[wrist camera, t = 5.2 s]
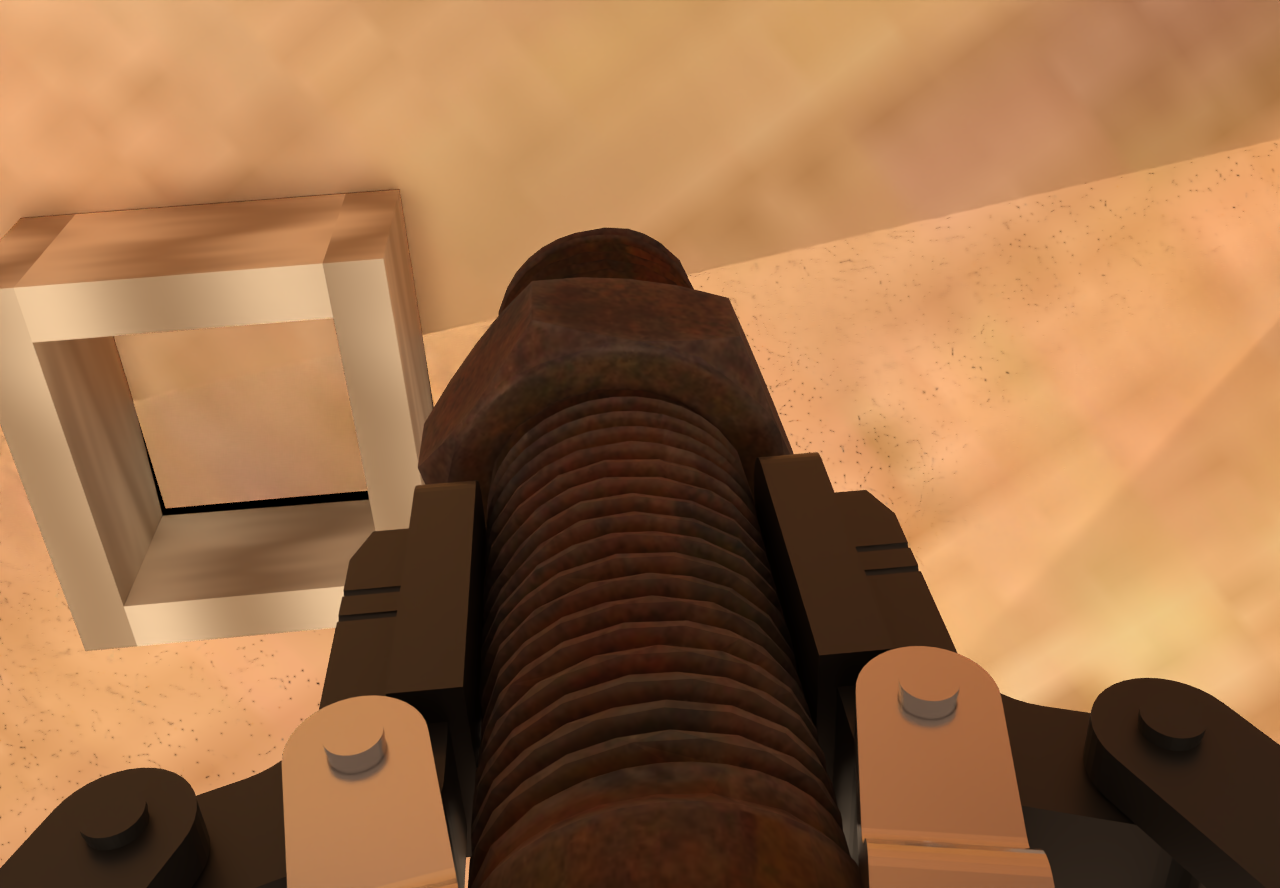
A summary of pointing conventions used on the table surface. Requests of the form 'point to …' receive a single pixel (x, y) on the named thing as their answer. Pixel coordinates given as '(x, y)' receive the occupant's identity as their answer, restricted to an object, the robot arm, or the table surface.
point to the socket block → (112, 436)
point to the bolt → (630, 590)
